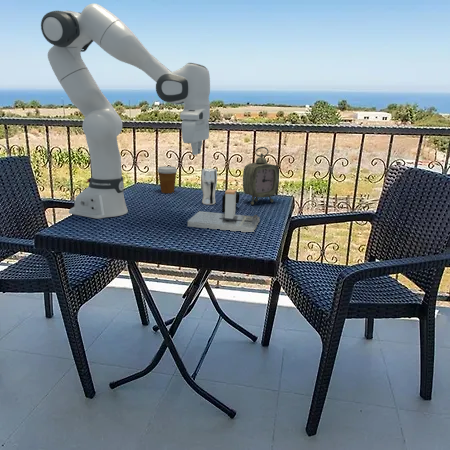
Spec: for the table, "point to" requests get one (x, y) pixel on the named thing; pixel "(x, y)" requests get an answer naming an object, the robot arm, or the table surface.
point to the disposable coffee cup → (167, 178)
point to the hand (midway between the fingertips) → (196, 154)
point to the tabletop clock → (260, 178)
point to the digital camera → (224, 201)
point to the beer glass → (209, 185)
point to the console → (224, 222)
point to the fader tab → (230, 205)
